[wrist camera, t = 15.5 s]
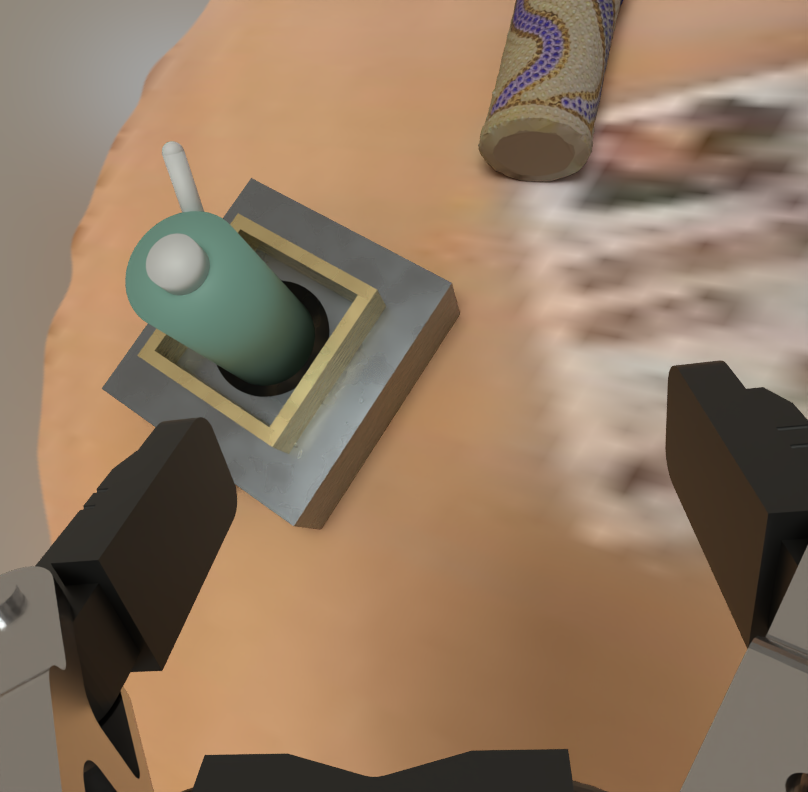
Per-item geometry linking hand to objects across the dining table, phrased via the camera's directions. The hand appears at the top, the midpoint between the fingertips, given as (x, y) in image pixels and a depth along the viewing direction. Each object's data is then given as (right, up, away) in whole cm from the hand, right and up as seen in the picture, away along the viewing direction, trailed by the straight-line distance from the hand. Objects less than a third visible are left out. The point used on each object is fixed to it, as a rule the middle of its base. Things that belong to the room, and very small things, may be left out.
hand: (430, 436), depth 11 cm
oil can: (-9, +6, +28) cm, 30 cm away
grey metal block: (-9, +1, +32) cm, 33 cm away
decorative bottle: (+12, +27, +35) cm, 46 cm away
